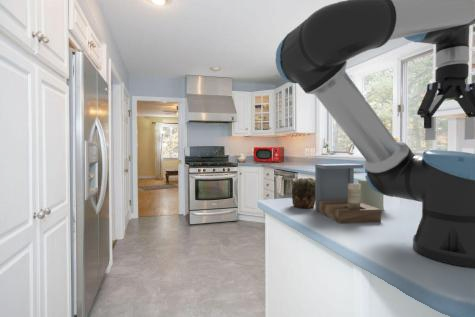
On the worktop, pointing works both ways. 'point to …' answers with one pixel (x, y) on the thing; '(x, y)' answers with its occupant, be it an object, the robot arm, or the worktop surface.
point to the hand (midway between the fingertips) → (450, 139)
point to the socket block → (349, 212)
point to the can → (370, 195)
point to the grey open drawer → (333, 181)
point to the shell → (303, 193)
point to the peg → (353, 196)
